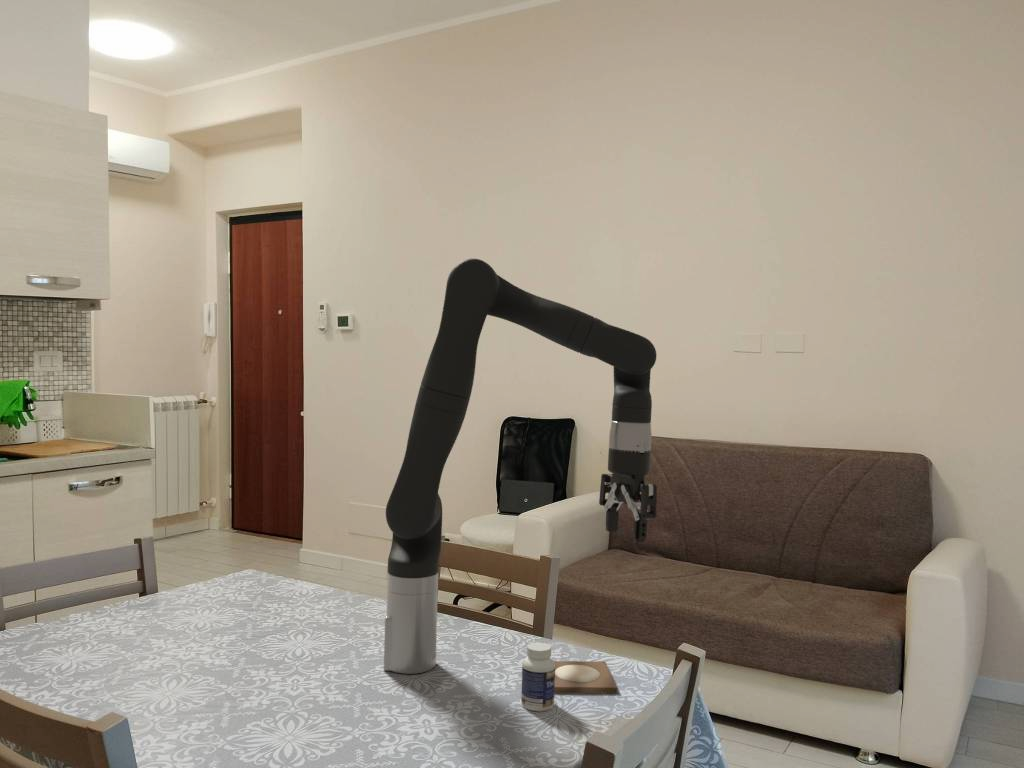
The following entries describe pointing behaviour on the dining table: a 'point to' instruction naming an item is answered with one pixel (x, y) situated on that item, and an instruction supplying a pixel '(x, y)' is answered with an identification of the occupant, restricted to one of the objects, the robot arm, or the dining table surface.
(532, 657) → the pill bottle
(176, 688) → the dining table surface
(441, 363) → the robot arm
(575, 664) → the rest board
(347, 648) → the dining table surface
